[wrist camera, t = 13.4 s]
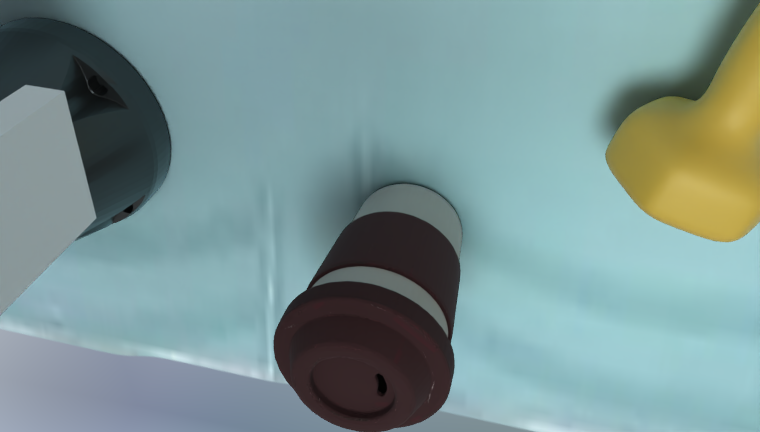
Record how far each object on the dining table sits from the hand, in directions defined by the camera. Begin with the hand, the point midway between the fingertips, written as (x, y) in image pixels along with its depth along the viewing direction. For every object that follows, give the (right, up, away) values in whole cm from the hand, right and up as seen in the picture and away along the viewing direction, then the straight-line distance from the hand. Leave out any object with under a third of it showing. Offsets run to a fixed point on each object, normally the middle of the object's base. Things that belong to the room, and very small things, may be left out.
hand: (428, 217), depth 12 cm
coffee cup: (+1, 0, +37) cm, 37 cm away
